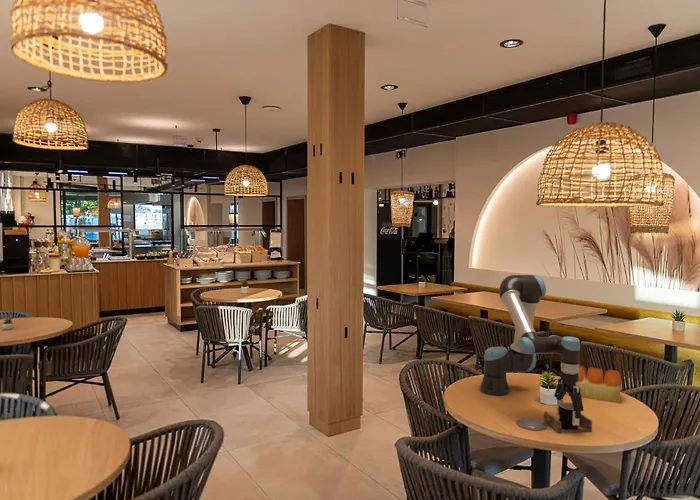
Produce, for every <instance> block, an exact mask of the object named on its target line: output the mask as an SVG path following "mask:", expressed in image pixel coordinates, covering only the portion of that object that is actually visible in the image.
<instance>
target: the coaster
mask: <svg viewBox="0 0 700 500" xmlns="http://www.w3.org/2000/svg"><path fill="white" fill-rule="evenodd" d="M515 424H516V425H517V426H518V427H520V428H521V429H525V430H528V431H534V432H540V431H544V430H547V428H548V425H547V424H546V423H544V421H542V420H539V419H537V418H531V417H523V418H519V419H516V423H515Z"/></svg>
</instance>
